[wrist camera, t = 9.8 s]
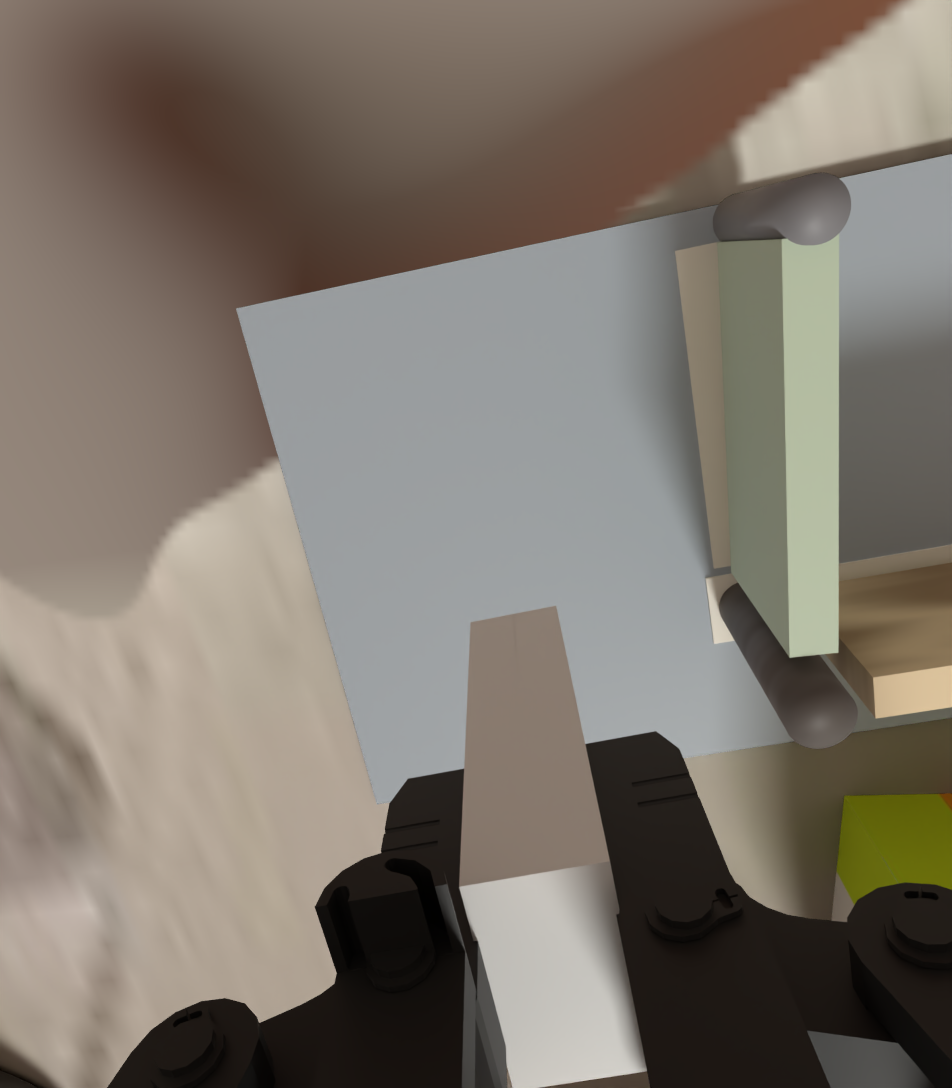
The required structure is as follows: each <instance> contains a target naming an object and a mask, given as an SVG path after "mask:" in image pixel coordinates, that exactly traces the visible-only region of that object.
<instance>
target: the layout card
mask: <svg viewBox="0 0 952 1088" xmlns="http://www.w3.org/2000/svg"><path fill="white" fill-rule="evenodd" d="M839 179H840V180H841V181H842V182H843V183H844V184H845V185H846V187H847V189H848V191H849V194H850V197H851V211H850V216H849V219H848V221H847V223H846V225H845V226H844V228H843V229H842V231H841V232H840V233H839V581H845V580H851V579H857V578H862V577H868V576H874V575H880V574H886V573H892V572H898V571H904V570H910V569H916V568H922V567H928V566H934V565H940V564H946V563H952V154H950V155H945V156H941V157H936V158H931V159H927V160H922V161H917V162H913V163H908V164H903V165H899V166H894V167H890V168H885V169H880V170H876V171H871V172H866V173H862V174H857V175H853V176H848V177H843V178H839ZM718 205H719V204H718ZM718 205H713V206H709V207H704V208H700V209H695V210H690V211H686V212H681V213H676V214H672V215H667V216H662V217H658V218H653V219H649V220H644V221H639V222H635V223H630V224H625V225H621V226H616V227H612V228H607V229H602V230H598V231H593V232H588V233H584V234H579V235H575V236H570V237H565V238H561V239H556V240H551V241H547V242H542V243H538V244H533V245H528V246H524V247H519V248H515V249H510V250H505V251H500V252H496V253H491V254H487V255H482V256H477V257H473V258H468V259H463V260H459V261H454V262H449V263H445V264H440V265H436V266H431V267H426V268H422V269H417V270H413V271H408V272H403V273H398V274H394V275H389V276H384V277H380V278H375V279H371V280H366V281H361V282H357V283H352V284H347V285H343V286H338V287H333V288H329V289H324V290H320V291H315V292H310V293H306V294H301V295H296V296H292V297H287V298H283V299H278V300H274V301H269V302H264V303H259V304H255V305H250V306H246V307H241V308H236V310H237V313H238V317H239V320H240V324H241V328H242V331H243V335H244V338H245V342H246V345H247V349H248V352H249V355H250V359H251V363H252V366H253V370H254V373H255V377H256V380H257V384H258V387H259V391H260V394H261V398H262V401H263V405H264V408H265V412H266V415H267V419H268V422H269V426H270V429H271V433H272V436H273V440H274V444H275V447H276V451H277V454H278V458H279V461H280V465H281V468H282V472H283V475H284V479H285V482H286V486H287V489H288V493H289V496H290V500H291V503H292V507H293V510H294V514H295V518H296V521H297V525H298V528H299V532H300V535H301V539H302V542H303V546H304V549H305V553H306V556H307V560H308V563H309V567H310V570H311V574H312V577H313V581H314V584H315V588H316V591H317V595H318V598H319V602H320V606H321V609H322V613H323V616H324V620H325V623H326V627H327V630H328V634H329V637H330V641H331V644H332V648H333V651H334V655H335V658H336V662H337V665H338V669H339V672H340V676H341V679H342V683H343V686H344V690H345V693H346V697H347V701H348V704H349V708H350V711H351V715H352V718H353V722H354V725H355V729H356V732H357V736H358V739H359V743H360V746H361V750H362V753H363V757H364V760H365V764H366V767H367V771H368V774H369V778H370V781H371V785H372V789H373V792H374V796H375V799H376V803H377V804H382V803H389V802H391V801H392V799H393V798H394V797H395V795H396V794H397V793H398V791H399V790H400V789H401V787H402V786H403V785H404V783H405V782H406V781H407V779H409V778H415V777H420V776H426V775H431V774H437V773H442V772H448V771H453V770H459V769H464V762H465V739H466V715H467V692H468V669H469V645H470V622H474V621H480V620H485V619H490V618H495V617H500V616H505V615H510V614H516V613H521V612H526V611H531V610H536V609H541V608H546V607H552V606H556V607H557V612H558V617H559V622H560V626H561V631H562V636H563V641H564V645H565V650H566V655H567V660H568V664H569V669H570V674H571V679H572V683H573V688H574V693H575V698H576V702H577V707H578V712H579V717H580V721H581V726H582V731H583V736H584V740H585V744H588V743H593V742H599V741H604V740H610V739H615V738H621V737H626V736H632V735H637V734H643V733H648V732H654V731H657V732H658V733H659V734H661V735H662V736H663V737H665V738H666V739H667V740H669V741H670V742H671V743H672V744H674V745H675V746H676V747H678V748H679V749H680V752H681V754H682V757H683V758H688V757H695V756H701V755H708V754H715V753H721V752H728V751H735V750H741V749H748V748H755V747H761V746H768V745H774V744H781V743H788V742H794V740H793V739H792V738H791V737H790V736H789V734H788V732H787V731H786V729H785V727H784V726H783V724H782V722H781V720H780V719H779V717H778V715H777V713H776V712H775V710H774V708H773V706H772V705H771V703H770V701H769V699H768V698H767V696H766V694H765V692H764V691H763V689H762V687H761V686H760V684H759V682H758V680H757V679H756V677H755V675H754V673H753V672H752V670H751V668H750V666H749V665H748V663H747V661H746V659H745V658H744V656H743V654H742V653H741V651H740V649H739V647H738V646H737V644H736V642H735V640H734V639H733V637H732V635H731V633H730V632H729V630H728V628H727V626H726V625H725V623H724V621H723V619H722V618H721V615H720V612H719V603H720V600H721V597H722V595H723V594H724V592H725V591H726V590H727V589H728V588H729V587H731V586H732V585H734V584H736V583H738V582H737V580H736V579H735V577H734V576H733V575H732V573H731V559H730V535H729V511H728V488H727V464H726V440H725V416H724V393H723V369H722V345H721V322H720V298H719V274H718V250H717V242H721V241H720V240H719V239H718V238H717V236H716V235H715V232H714V229H713V216H714V213H715V210H716V209H717V207H718ZM820 656H821V657H822V659H823V660H824V661H825V663H826V664H827V665H828V667H829V668H830V669H831V671H832V672H833V673H834V674H835V676H836V677H837V678H838V680H839V681H840V682H841V684H842V685H843V686H844V688H845V689H846V690H847V691H848V693H849V694H850V695H851V697H852V698H853V699H854V701H855V703H856V705H857V709H858V719H857V723H856V725H855V727H854V729H853V731H852V732H851V733H854V732H861V731H868V730H874V729H881V728H888V727H894V726H901V725H908V724H914V723H921V722H928V721H934V720H941V719H947V718H952V707H949V708H943V709H936V710H930V711H923V712H916V713H910V714H903V715H897V716H890V717H883V718H877V719H876V718H875V717H874V716H873V715H872V713H871V712H870V711H869V709H868V708H867V707H866V706H865V704H864V703H863V702H862V701H861V699H860V698H859V697H858V695H857V694H856V693H855V692H854V690H853V689H852V688H851V686H850V685H849V684H848V683H847V681H846V680H845V679H844V677H843V676H842V675H841V674H840V672H839V671H838V670H837V669H836V667H835V666H834V665H833V663H832V662H831V661H830V660H829V658H828V657H827V656H826V654H821V655H820Z"/></svg>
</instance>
